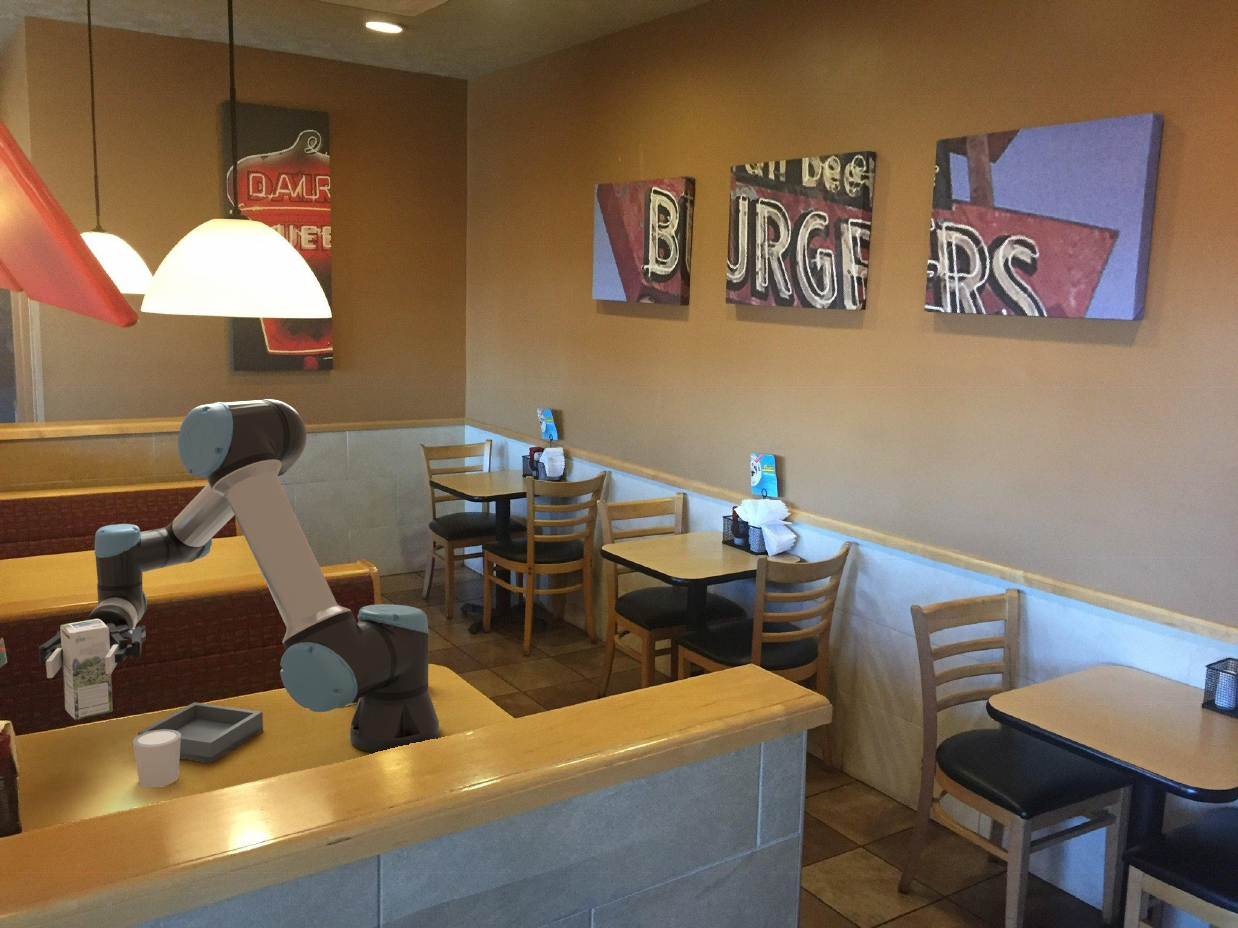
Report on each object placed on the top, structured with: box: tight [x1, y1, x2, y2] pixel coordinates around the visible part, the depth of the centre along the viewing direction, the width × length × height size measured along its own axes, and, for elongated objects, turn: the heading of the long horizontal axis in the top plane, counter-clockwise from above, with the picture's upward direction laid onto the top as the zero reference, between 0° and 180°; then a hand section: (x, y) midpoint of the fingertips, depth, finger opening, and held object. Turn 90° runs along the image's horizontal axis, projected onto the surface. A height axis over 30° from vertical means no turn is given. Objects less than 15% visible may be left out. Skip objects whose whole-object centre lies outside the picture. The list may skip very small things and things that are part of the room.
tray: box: [137, 701, 264, 764], centre depth 173 cm, size 14×14×4 cm
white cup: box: [132, 729, 181, 789], centre depth 158 cm, size 7×7×7 cm
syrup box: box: [59, 619, 114, 721], centre depth 161 cm, size 6×6×14 cm
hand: (78, 667), depth 156 cm, fingers closed on syrup box, 7 cm apart
